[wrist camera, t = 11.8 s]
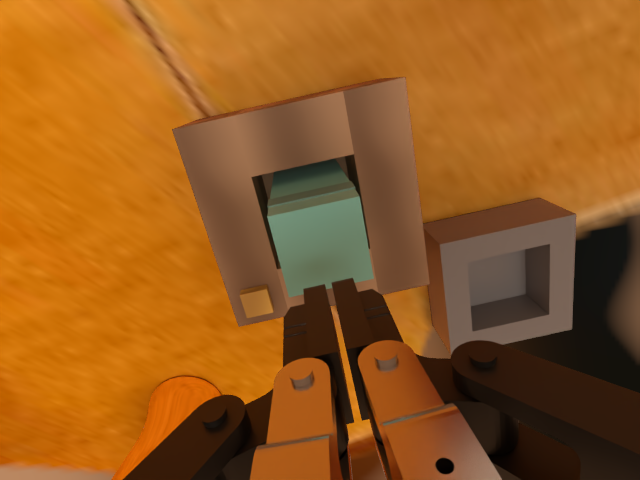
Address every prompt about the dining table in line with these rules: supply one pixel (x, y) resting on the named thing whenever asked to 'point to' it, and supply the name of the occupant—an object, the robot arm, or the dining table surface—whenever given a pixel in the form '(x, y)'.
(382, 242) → the port
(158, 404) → the beer glass
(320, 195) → the plug
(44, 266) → the dining table surface
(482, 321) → the grey square frame
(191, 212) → the dining table surface
